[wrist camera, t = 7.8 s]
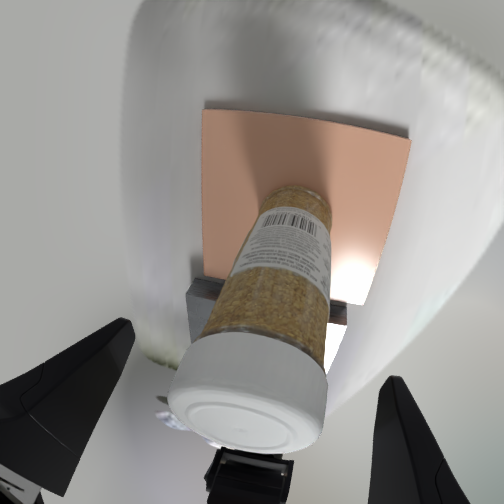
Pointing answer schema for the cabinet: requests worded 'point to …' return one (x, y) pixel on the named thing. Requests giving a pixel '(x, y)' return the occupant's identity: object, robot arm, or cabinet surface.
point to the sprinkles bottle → (265, 335)
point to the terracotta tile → (302, 174)
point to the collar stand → (207, 293)
